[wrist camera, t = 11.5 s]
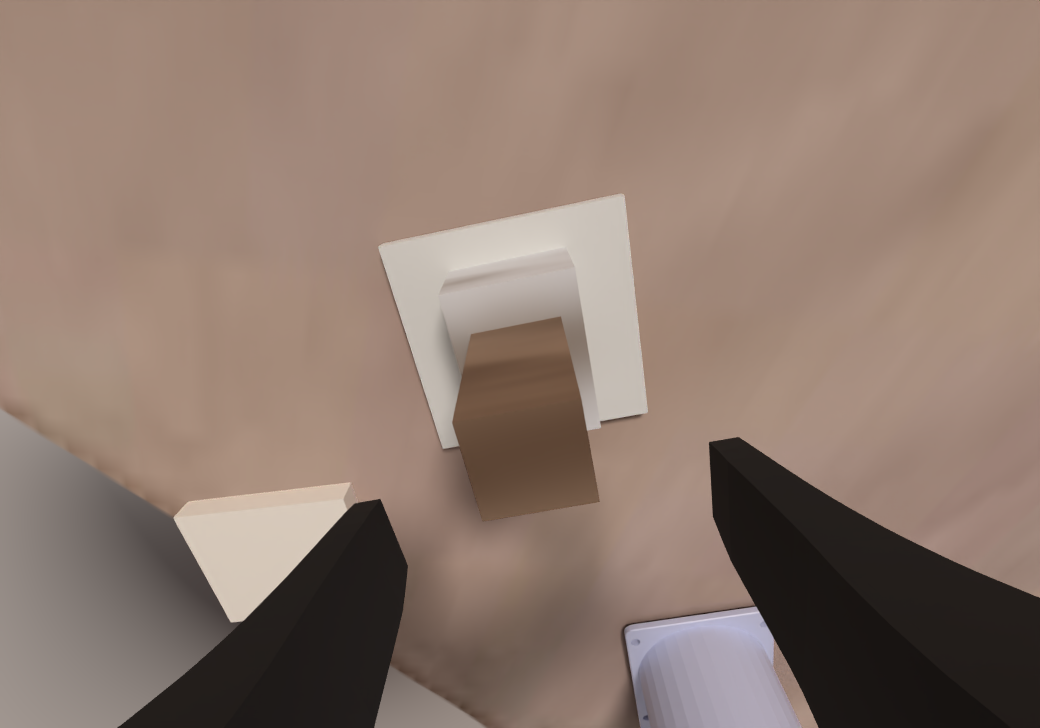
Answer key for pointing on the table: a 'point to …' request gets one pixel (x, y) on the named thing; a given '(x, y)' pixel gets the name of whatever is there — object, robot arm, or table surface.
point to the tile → (258, 538)
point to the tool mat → (579, 227)
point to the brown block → (522, 383)
